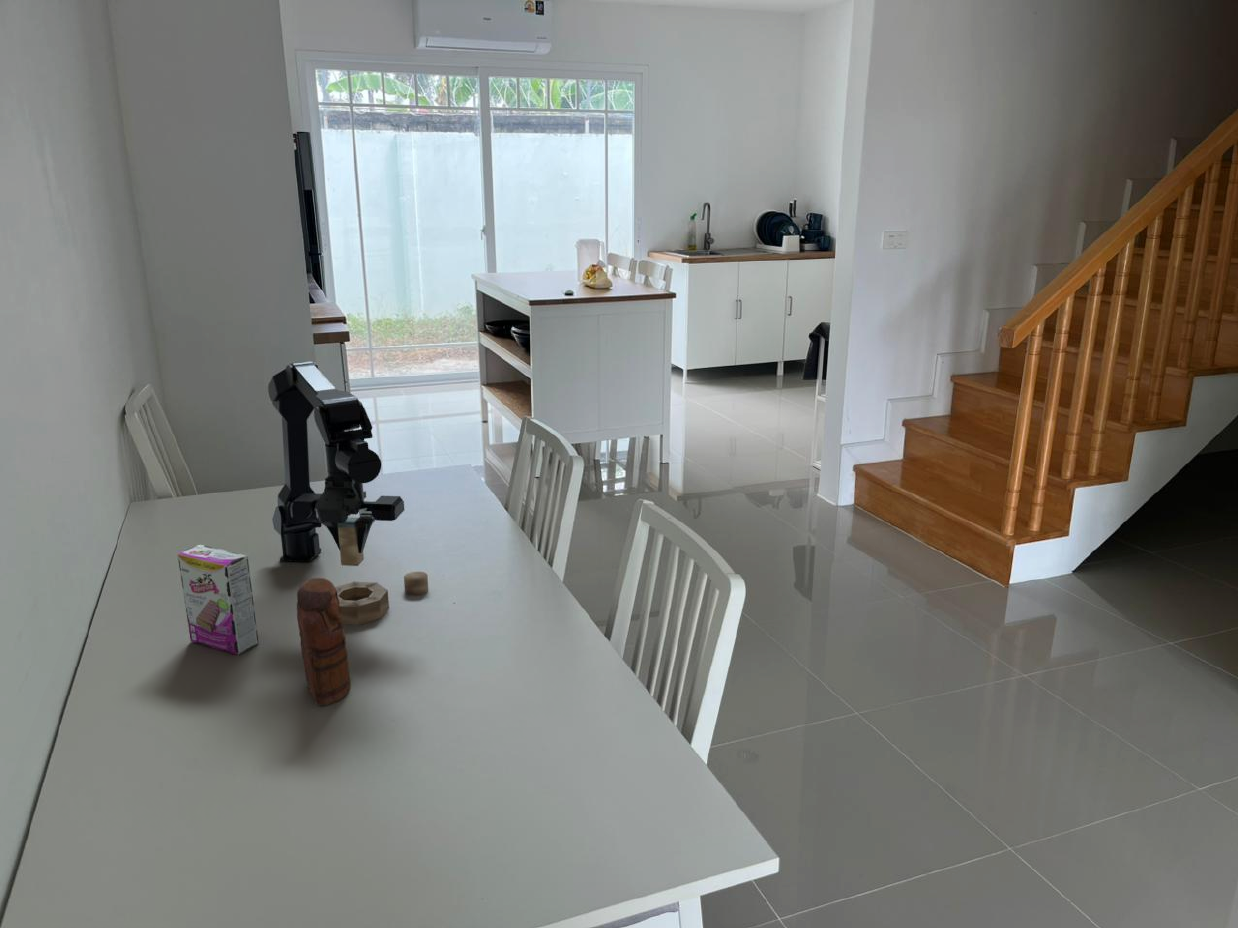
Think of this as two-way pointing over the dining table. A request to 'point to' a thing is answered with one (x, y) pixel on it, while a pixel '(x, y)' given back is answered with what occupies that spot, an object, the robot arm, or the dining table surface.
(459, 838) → the dining table surface
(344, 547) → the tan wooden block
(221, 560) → the candy bar box
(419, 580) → the loose bead
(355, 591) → the wooden octagonal ring
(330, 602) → the wooden figurine
